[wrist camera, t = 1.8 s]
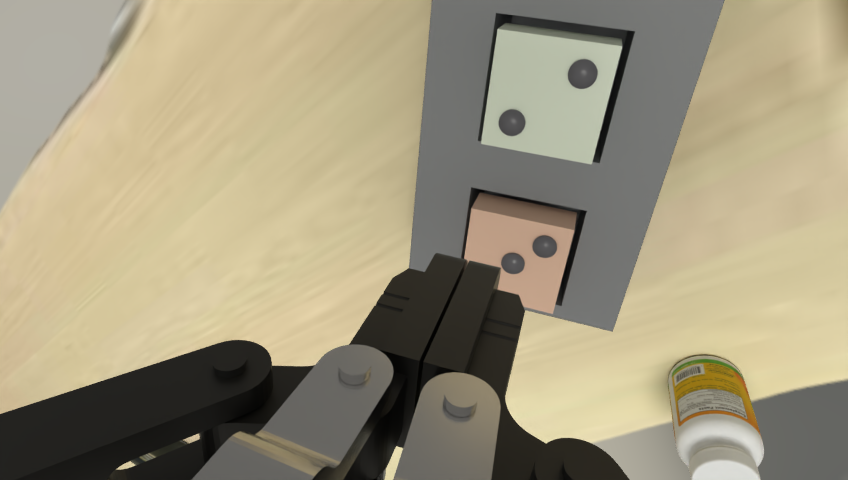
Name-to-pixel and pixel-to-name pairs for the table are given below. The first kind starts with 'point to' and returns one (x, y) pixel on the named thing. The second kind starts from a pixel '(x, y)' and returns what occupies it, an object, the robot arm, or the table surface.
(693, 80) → the console
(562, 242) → the tan block with dots
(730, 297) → the table surface
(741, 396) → the supplement bottle
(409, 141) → the table surface
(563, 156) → the pale green flat block
